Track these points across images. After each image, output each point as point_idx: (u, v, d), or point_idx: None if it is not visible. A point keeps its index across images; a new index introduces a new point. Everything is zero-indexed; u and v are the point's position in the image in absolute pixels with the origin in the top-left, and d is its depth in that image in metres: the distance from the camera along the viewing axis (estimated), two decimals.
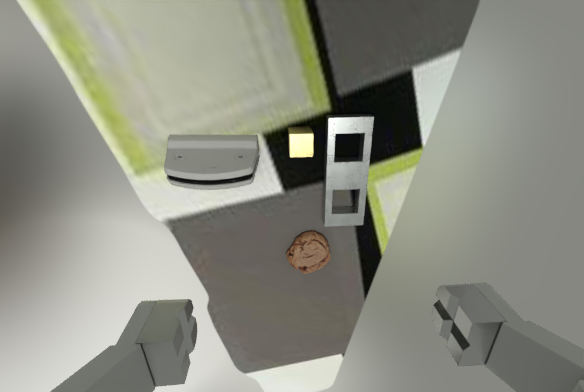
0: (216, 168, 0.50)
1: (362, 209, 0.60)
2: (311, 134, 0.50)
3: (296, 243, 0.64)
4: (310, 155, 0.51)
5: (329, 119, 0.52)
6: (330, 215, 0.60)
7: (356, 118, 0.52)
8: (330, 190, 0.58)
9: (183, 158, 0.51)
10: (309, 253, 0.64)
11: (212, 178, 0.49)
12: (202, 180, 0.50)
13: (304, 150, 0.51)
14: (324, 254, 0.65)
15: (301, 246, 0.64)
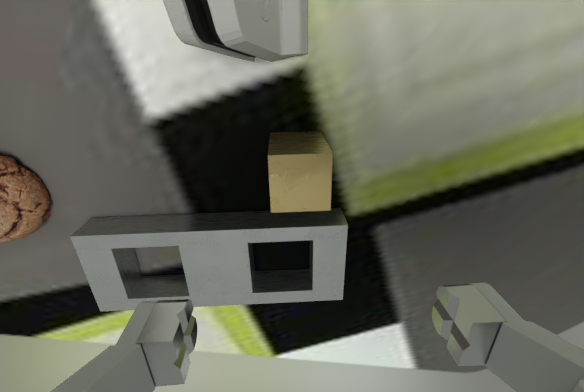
0: None
1: None
2: (328, 205, 0.20)
3: None
4: (274, 206, 0.20)
5: (344, 226, 0.24)
6: (106, 246, 0.24)
7: (341, 273, 0.26)
8: (176, 240, 0.24)
9: None
10: None
11: None
12: None
13: (287, 191, 0.19)
14: None
15: None
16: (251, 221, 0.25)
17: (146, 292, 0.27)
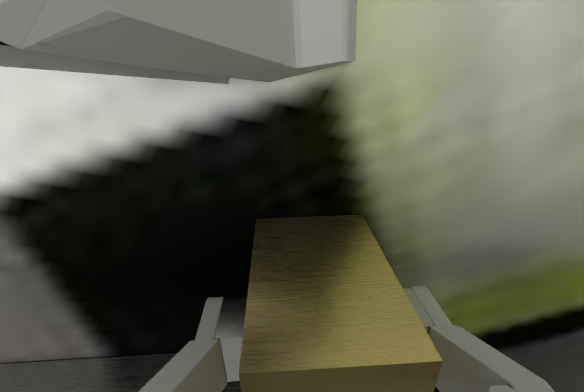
0: None
1: None
2: None
3: None
4: None
5: None
6: None
7: None
8: None
9: None
10: None
11: None
12: None
13: None
14: None
15: None
16: None
17: None
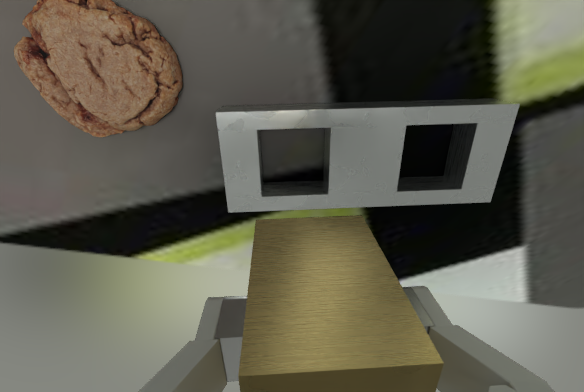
0: None
1: (271, 207, 0.24)
2: None
3: (134, 20, 0.19)
4: None
5: (515, 106, 0.22)
6: (253, 127, 0.21)
7: (497, 167, 0.24)
8: (330, 120, 0.21)
9: None
10: (104, 68, 0.20)
11: None
12: None
13: None
14: (111, 118, 0.21)
15: (126, 39, 0.20)
16: (406, 104, 0.22)
17: (277, 192, 0.24)
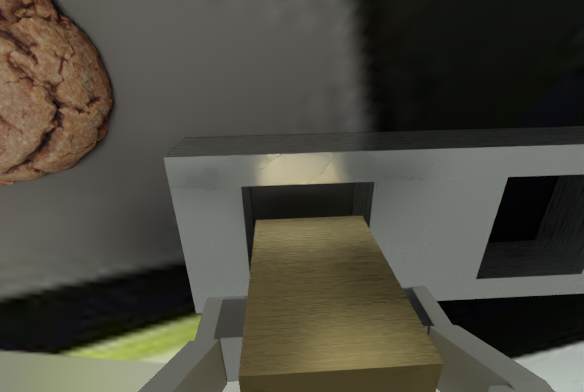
0: None
1: None
2: None
3: None
4: None
5: None
6: (234, 182, 0.12)
7: None
8: (374, 170, 0.12)
9: None
10: None
11: None
12: None
13: None
14: None
15: None
16: (504, 138, 0.13)
17: None
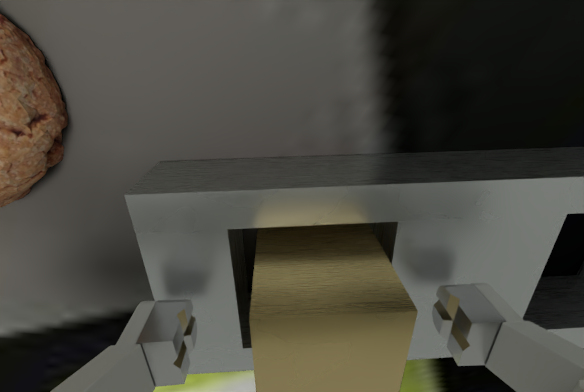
0: None
1: None
2: None
3: None
4: None
5: None
6: (218, 224, 0.09)
7: None
8: (398, 207, 0.09)
9: None
10: None
11: None
12: None
13: (299, 384, 0.08)
14: None
15: None
16: (559, 163, 0.10)
17: None
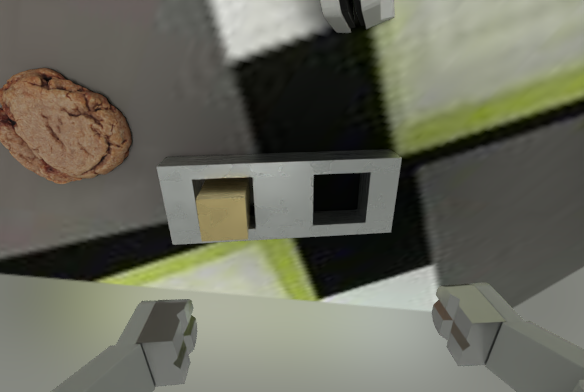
0: None
1: None
2: (246, 235, 0.26)
3: (87, 97, 0.24)
4: (203, 236, 0.26)
5: (398, 159, 0.27)
6: (188, 177, 0.26)
7: (392, 205, 0.29)
8: (251, 171, 0.27)
9: None
10: (62, 133, 0.24)
11: None
12: None
13: (213, 225, 0.25)
14: (70, 171, 0.26)
15: (81, 111, 0.24)
16: (315, 156, 0.28)
17: None
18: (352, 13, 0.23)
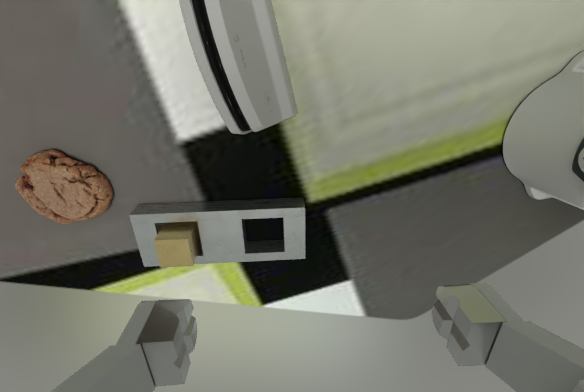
0: (244, 67, 0.26)
1: None
2: (191, 263, 0.37)
3: (81, 170, 0.35)
4: (161, 264, 0.37)
5: (302, 208, 0.38)
6: (151, 221, 0.37)
7: (303, 240, 0.40)
8: (196, 217, 0.38)
9: None
10: (64, 194, 0.36)
11: (225, 63, 0.25)
12: (213, 42, 0.25)
13: (167, 256, 0.36)
14: (70, 217, 0.37)
15: (77, 179, 0.36)
16: (243, 205, 0.39)
17: None
18: None
